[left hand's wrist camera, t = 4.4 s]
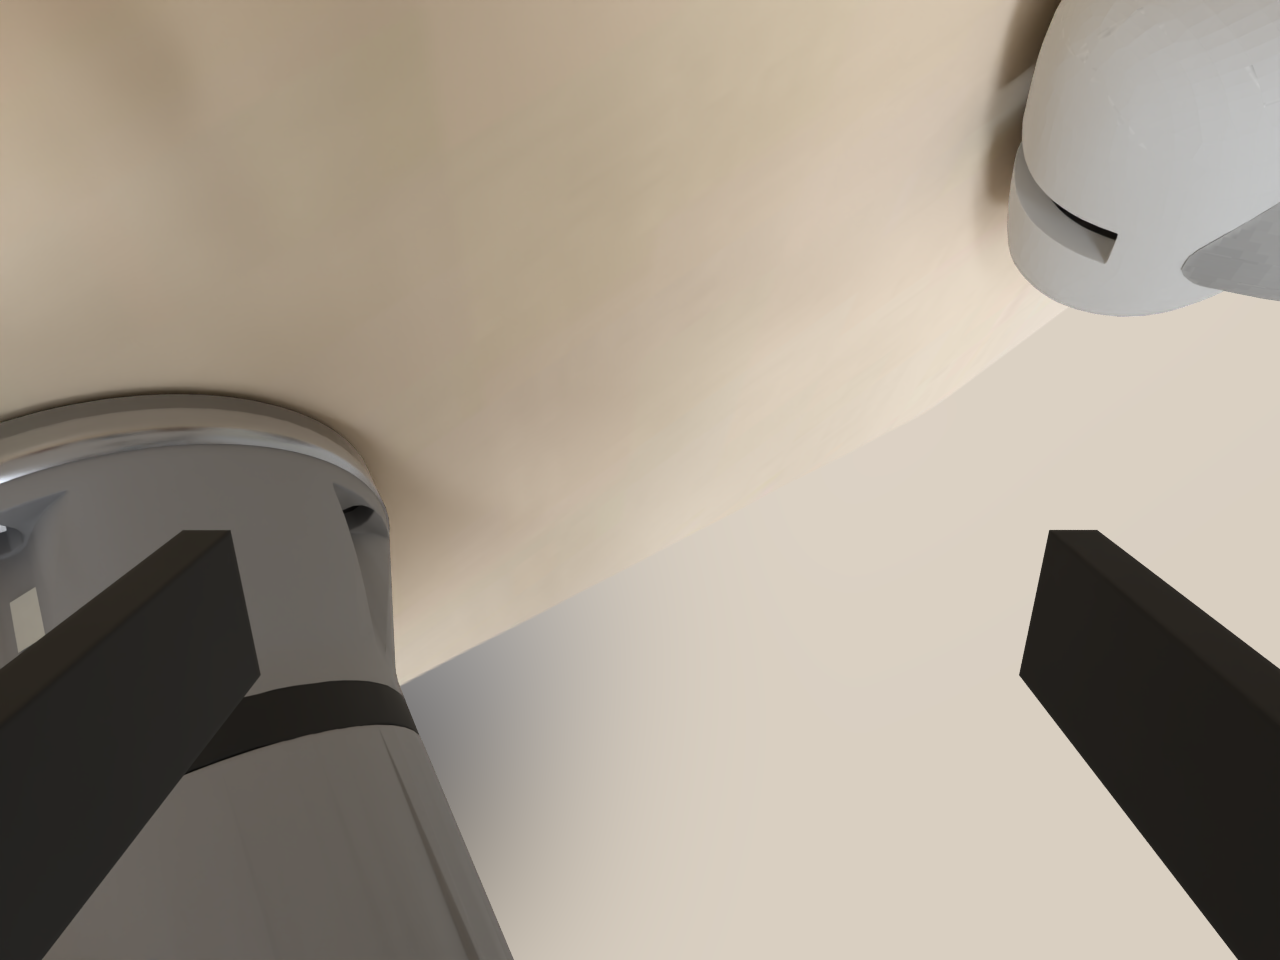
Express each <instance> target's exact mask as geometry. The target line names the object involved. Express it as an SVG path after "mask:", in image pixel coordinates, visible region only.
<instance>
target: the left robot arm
mask: <svg viewBox="0 0 1280 960" xmlns="http://www.w3.org/2000/svg"><path fill="white" fill-rule="evenodd" d="M389 530H390V528H389V518H388V514H387V511H386V507H385V505H384V503H383V501H382V499H381V496H380V494H379V492H378V490H377V488H376V485H375V483H374V481H373V479H372V477H371V474H370V472H369V470H368V468H367V466H366V464H365V462H364V460H363V458H362V457H361V456H360V454H359V453H358V452H357V450H356V449H355V448H354V447H353V446H352V445H351V444H350V443H349V442H348V441H347V440H346V439H345V438H344V437H342V436H341V435H340V434H338V433H337V432H336V431H334V430H333V429H331V428H329V427H328V426H326V425H324V424H322V423H321V422H319V421H317V420H315V419H312V418H310V417H308V416H305V415H303V414H301V413H298V412H295V411H292V410H289V409H286V408H283V407H280V406H276V405H271V404H267V403H263V402H258V401H253V400H247V399H240V398H234V397H225V396H213V395H195V394H162V395H140V396H130V397H120V398H110V399H103V400H96V401H90V402H84V403H78V404H72V405H67V406H63V407H58V408H54V409H49V410H45V411H40V412H36V413H33V414H29V415H25V416H22V417H18V418H15V419H11V420H8V421H4V422H1V423H0V960H514V959H513V957H512V955H511V952H510V950H509V947H508V945H507V943H506V940H505V938H504V935H503V933H502V931H501V928H500V926H499V923H498V921H497V919H496V916H495V914H494V912H493V909H492V907H491V904H490V902H489V900H488V897H487V895H486V892H485V890H484V888H483V885H482V883H481V880H480V878H479V876H478V873H477V871H476V869H475V866H474V864H473V861H472V859H471V857H470V854H469V852H468V849H467V847H466V845H465V842H464V840H463V837H462V835H461V833H460V830H459V828H458V826H457V823H456V821H455V818H454V816H453V814H452V811H451V809H450V806H449V804H448V802H447V799H446V797H445V794H444V792H443V790H442V787H441V785H440V782H439V780H438V778H437V775H436V773H435V771H434V768H433V766H432V763H431V761H430V759H429V756H428V754H427V752H426V749H425V747H424V744H423V742H422V740H421V738H420V736H419V733H418V731H417V729H416V726H415V724H414V721H413V719H412V716H411V714H410V711H409V709H408V706H407V704H406V701H405V698H404V696H403V693H402V691H401V688H400V686H399V683H398V679H397V675H396V669H395V651H394V629H393V606H392V584H391V562H390V540H389ZM1019 676H1020V677H1021V678H1022V679H1023V681H1024V682H1025V683H1026V685H1027V686H1028V687H1029V688H1030V690H1031V691H1032V692H1033V694H1034V695H1035V696H1036V698H1037V699H1038V700H1039V701H1040V703H1041V704H1042V705H1043V707H1044V708H1045V709H1046V711H1047V712H1048V713H1049V715H1050V716H1051V717H1052V718H1053V720H1054V721H1055V722H1056V724H1057V725H1058V726H1059V728H1060V729H1061V730H1062V731H1063V733H1064V734H1065V735H1066V737H1067V738H1068V739H1069V741H1070V742H1071V743H1072V744H1073V746H1074V747H1075V748H1076V750H1077V751H1078V752H1079V753H1080V755H1081V756H1082V757H1083V759H1084V760H1085V761H1086V762H1087V764H1088V765H1089V767H1090V768H1091V769H1092V770H1093V772H1094V773H1095V774H1096V776H1097V777H1098V778H1099V779H1100V781H1101V782H1102V783H1103V785H1104V786H1105V787H1106V789H1107V790H1108V791H1109V793H1110V794H1111V795H1112V796H1113V798H1114V799H1115V800H1116V802H1117V803H1118V804H1119V805H1120V807H1121V808H1122V809H1123V811H1124V812H1125V813H1126V815H1127V816H1128V817H1129V818H1130V820H1131V821H1132V822H1133V824H1134V825H1135V826H1136V828H1137V829H1138V830H1139V832H1140V833H1141V834H1142V835H1143V837H1144V838H1145V839H1146V841H1147V842H1148V843H1149V845H1150V846H1151V847H1152V848H1153V850H1154V851H1155V852H1156V854H1157V855H1158V856H1159V857H1160V859H1161V860H1162V861H1163V863H1164V864H1165V865H1166V867H1167V868H1168V869H1169V871H1170V872H1171V873H1172V874H1173V876H1174V877H1175V878H1176V880H1177V881H1178V882H1179V883H1180V885H1181V886H1182V887H1183V889H1184V890H1185V891H1186V893H1187V894H1188V895H1189V897H1190V898H1191V899H1192V900H1193V902H1194V903H1195V904H1196V906H1197V907H1198V908H1199V910H1200V911H1201V912H1202V913H1203V915H1204V916H1205V917H1206V919H1207V920H1208V921H1209V923H1210V924H1211V925H1212V926H1213V928H1214V929H1215V930H1216V932H1217V933H1218V934H1219V936H1220V937H1221V938H1222V939H1223V941H1224V942H1225V943H1226V945H1227V946H1228V947H1229V949H1230V950H1231V951H1232V952H1233V954H1234V955H1235V956H1236V958H1237V959H1238V960H1280V669H1279V668H1278V667H1276V666H1275V665H1274V664H1272V663H1271V662H1270V661H1268V660H1267V659H1266V658H1264V657H1263V656H1262V655H1261V654H1259V653H1258V652H1257V651H1255V650H1254V649H1253V648H1251V647H1250V646H1249V645H1247V644H1246V643H1245V642H1243V641H1242V640H1241V639H1240V638H1238V637H1237V636H1236V635H1234V634H1233V633H1232V632H1230V631H1229V630H1228V629H1226V628H1225V627H1224V626H1222V625H1221V624H1220V623H1218V622H1217V621H1216V620H1214V619H1213V618H1212V617H1211V616H1209V615H1208V614H1207V613H1205V612H1204V611H1203V610H1201V609H1200V608H1199V607H1198V606H1196V605H1195V604H1194V603H1192V602H1191V601H1190V600H1188V599H1187V598H1186V597H1184V596H1183V595H1182V594H1180V593H1179V592H1178V591H1176V590H1175V589H1174V588H1173V587H1171V586H1170V585H1169V584H1167V583H1166V582H1165V581H1163V580H1162V579H1161V578H1159V577H1158V576H1157V575H1155V574H1154V573H1153V572H1152V571H1150V570H1149V569H1148V568H1146V567H1145V566H1144V565H1142V564H1141V563H1140V562H1138V561H1137V560H1136V559H1134V558H1133V557H1132V556H1131V555H1129V554H1128V553H1127V552H1125V551H1124V550H1123V549H1121V548H1120V547H1119V546H1117V545H1116V544H1115V543H1113V542H1112V541H1111V540H1109V539H1108V538H1107V537H1105V536H1104V535H1103V534H1102V533H1100V532H1099V531H1098V530H1049V534H1048V539H1047V544H1046V549H1045V553H1044V558H1043V563H1042V568H1041V573H1040V577H1039V582H1038V587H1037V592H1036V597H1035V602H1034V606H1033V611H1032V616H1031V621H1030V626H1029V631H1028V635H1027V640H1026V645H1025V650H1024V654H1023V659H1022V664H1021V669H1020V674H1019Z"/></svg>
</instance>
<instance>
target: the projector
mask: <svg viewBox="0 0 1280 960" xmlns="http://www.w3.org/2000/svg"><path fill="white" fill-rule="evenodd" d="M1007 231H1008V245H1009V249H1010V254H1011V257H1012V259H1013V262H1014V264H1015V265H1016V267H1017V268H1018V270H1019V271H1020V272H1021V274H1022V275H1023V276H1024V277H1025V278H1026V279H1027V280H1028V281H1029V282H1030V283H1031V284H1032V285H1033V286H1034V287H1035V288H1036V289H1037V290H1039V291H1040V292H1041V293H1043V294H1045V295H1046V296H1048V297H1049V298H1051V299H1053V300H1055V301H1056V302H1058V303H1061V304H1063V305H1066V306H1069V307H1071V308H1074V309H1077V310H1081V311H1085V312H1090V313H1094V314H1101V315H1110V316H1120V317H1121V316H1122V317H1125V316H1145V315H1152V314H1159V313H1164V312H1168V311H1172V310H1176V309H1179V308H1182V307H1185V306H1188V305H1191V304H1194V303H1197V302H1199V301H1202V300H1205V299H1207V298H1210V297H1212V296H1215V295H1217V294H1219V293H1221V292H1223V291H1228V292H1232V293H1237V294H1242V295H1247V296H1252V297H1257V298H1263V299H1269V300H1276V301H1280V0H1061V2H1060V4H1059V6H1058V8H1057V9H1056V11H1055V14H1054V16H1053V18H1052V21H1051V23H1050V26H1049V28H1048V31H1047V33H1046V36H1045V38H1044V41H1043V44H1042V47H1041V49H1040V52H1039V56H1038V59H1037V62H1036V66H1035V70H1034V74H1033V77H1032V81H1031V86H1030V90H1029V94H1028V99H1027V103H1026V108H1025V112H1024V117H1023V125H1022V142H1021V143H1020V146H1019V148H1018V150H1017V153H1016V157H1015V163H1014V168H1013V174H1012V180H1011V186H1010V194H1009V201H1008V220H1007Z"/></svg>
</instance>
